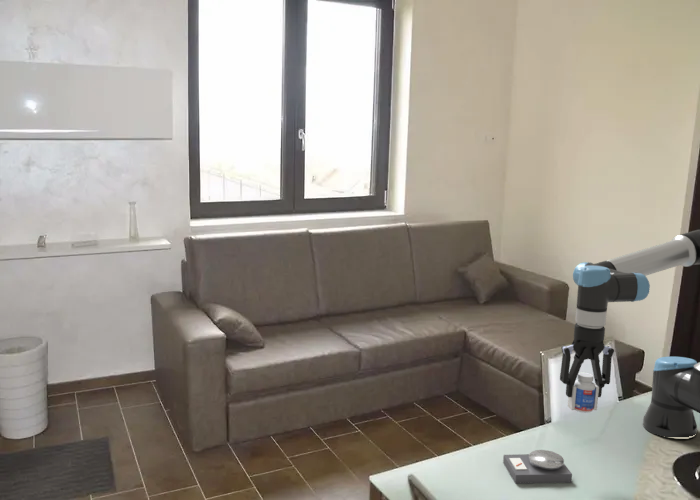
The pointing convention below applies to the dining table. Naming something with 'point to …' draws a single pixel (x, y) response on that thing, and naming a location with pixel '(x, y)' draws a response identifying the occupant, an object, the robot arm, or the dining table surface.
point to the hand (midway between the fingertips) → (582, 407)
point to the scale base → (534, 471)
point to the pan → (546, 459)
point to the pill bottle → (584, 392)
